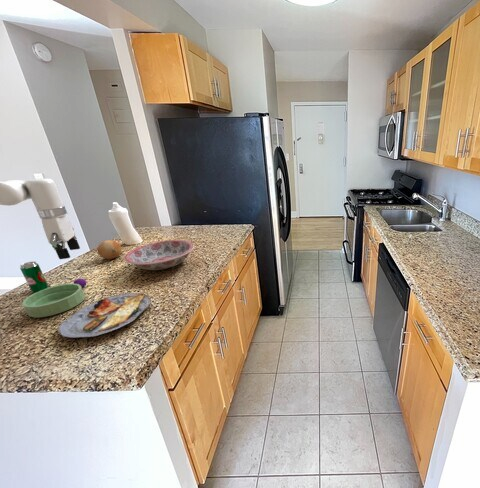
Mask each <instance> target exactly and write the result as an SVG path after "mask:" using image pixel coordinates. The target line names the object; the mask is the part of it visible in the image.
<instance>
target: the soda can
mask: <svg viewBox="0 0 480 488" xmlns="http://www.w3.org/2000/svg"><path fill="white" fill-rule="evenodd" d="M19 266H20V267H19V269H20V271H21V273H22V275H23V277H24V280H25V282H26V283H27V285H28V287H29V290H30V292H33V293H36V292H39V291H41V290H44V289H47V288H49V284H48V281H47V279H46V277H45V274H44V273H43V271H42V269H41V267H40V264H39V263H37V261H28V262H25V263H21V264H20V265H19Z"/></svg>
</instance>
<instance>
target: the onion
mask: <svg viewBox="0 0 480 488" xmlns="http://www.w3.org/2000/svg"><path fill="white" fill-rule="evenodd" d="M122 251H123V250H122V245H121V244H120V243H119V242H118V241H116V240H113V239H107V240H103V241H102V242H100V243H99V244H98V245H97V254H98V255H99V256H100V258H102V259H104V260H112V259H115V258H118V257H119V256H120V255H121V254H122Z"/></svg>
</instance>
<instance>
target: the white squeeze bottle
mask: <svg viewBox="0 0 480 488" xmlns="http://www.w3.org/2000/svg"><path fill="white" fill-rule="evenodd" d="M107 212H108V213H107V214H108V218H109V220H110V222H111V224H112V226H113V228H114V230H115V231H116V233H117V234H118V236H119V238H120V241H122V243H124V245H126V246H132V245H138V244H140V243H142V242H143V241H144V240H143V238H142V237H141V235H140V234H139V233H138V231H137V230H136V229H135V228H134V226H133V224H132V220H131V219H130V215H129V210H128V209H127V208H126V207H122V206H121V205H120V204H119V203H118V202H112V206H111V209H110V210H108V211H107Z"/></svg>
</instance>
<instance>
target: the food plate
mask: <svg viewBox="0 0 480 488" xmlns="http://www.w3.org/2000/svg"><path fill="white" fill-rule="evenodd" d="M151 303H152V300H151V299H150V298H149V297H148V295H146V294H145V293H144V292H142V293H130V292H129V293H121V294H116V295H113V296H108V297H103V298H101V299H99V300H98V301H95V302H92V303H90V304H87V305H86V306H83V307H81V308H80V309H79V310H77V311H76V312H74V313H73V314H72V315H70V316H69V317H68V318H67V319H65V320H64V321H63V322H61V323H60V325H59V326H58V328H57V332H58V334H59V335H61V336H62V337H66V338H75V339H76V338H82V339H83V338H91V337H97V336H100V335H103V334H107V333H110V332H113V331H115V330H117V329H120V328H123V327H125V326H126V325H128V324H130V323H131V322H133V321H135V320H136V319H137V318H138V317H139V316H140V315H141V314H142V313H143V312H144V311H145V310H146V309H147V308H148V307H149V306H150V305H151Z"/></svg>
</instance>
